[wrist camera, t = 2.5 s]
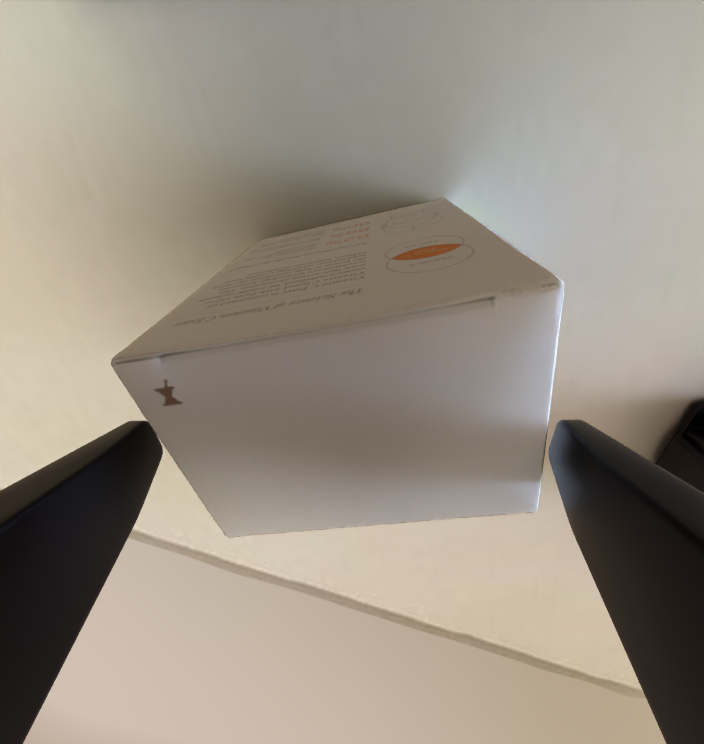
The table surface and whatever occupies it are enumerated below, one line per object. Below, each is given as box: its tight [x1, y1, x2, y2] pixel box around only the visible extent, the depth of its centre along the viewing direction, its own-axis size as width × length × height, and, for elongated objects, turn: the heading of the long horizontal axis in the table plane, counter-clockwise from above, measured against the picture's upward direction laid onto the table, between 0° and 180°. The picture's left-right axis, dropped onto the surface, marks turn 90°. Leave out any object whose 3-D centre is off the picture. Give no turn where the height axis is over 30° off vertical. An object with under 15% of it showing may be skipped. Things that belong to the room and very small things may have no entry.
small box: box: [111, 198, 564, 538], centre depth 11 cm, size 8×6×10 cm
